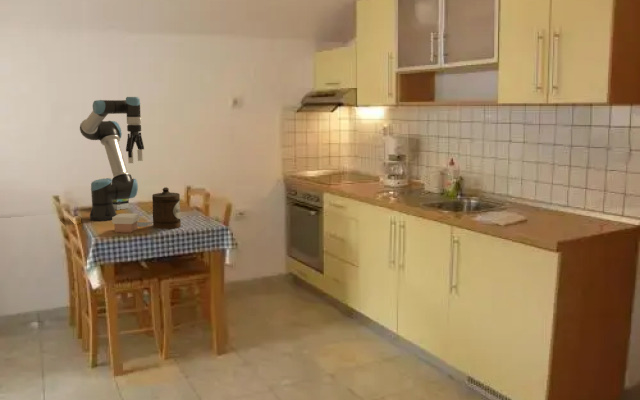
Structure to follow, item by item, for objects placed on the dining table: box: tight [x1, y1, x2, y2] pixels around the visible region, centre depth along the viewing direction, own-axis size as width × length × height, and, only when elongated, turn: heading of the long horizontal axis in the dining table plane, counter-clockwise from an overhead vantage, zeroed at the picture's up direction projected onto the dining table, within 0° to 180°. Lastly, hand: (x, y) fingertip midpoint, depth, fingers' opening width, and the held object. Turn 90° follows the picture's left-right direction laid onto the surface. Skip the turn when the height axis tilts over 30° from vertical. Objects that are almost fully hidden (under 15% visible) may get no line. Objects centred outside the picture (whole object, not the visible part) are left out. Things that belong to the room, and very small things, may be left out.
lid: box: [111, 213, 140, 225], centre depth 319 cm, size 10×10×4 cm
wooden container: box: [152, 186, 182, 230], centre depth 330 cm, size 15×15×22 cm
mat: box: [137, 221, 153, 228], centre depth 336 cm, size 12×12×1 cm
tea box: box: [113, 198, 130, 211], centre depth 388 cm, size 15×10×15 cm
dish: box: [113, 221, 139, 234], centre depth 319 cm, size 9×9×5 cm
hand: (135, 162), depth 340 cm, fingers open, 13 cm apart
